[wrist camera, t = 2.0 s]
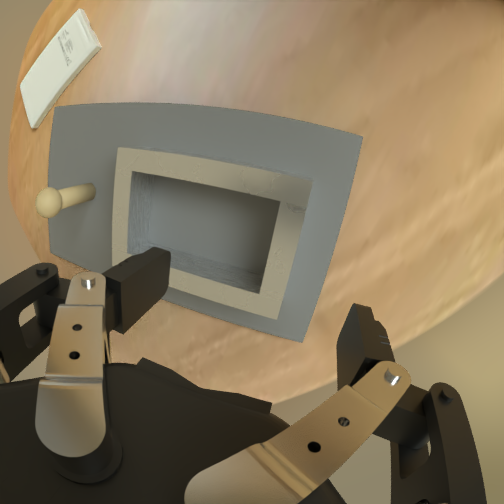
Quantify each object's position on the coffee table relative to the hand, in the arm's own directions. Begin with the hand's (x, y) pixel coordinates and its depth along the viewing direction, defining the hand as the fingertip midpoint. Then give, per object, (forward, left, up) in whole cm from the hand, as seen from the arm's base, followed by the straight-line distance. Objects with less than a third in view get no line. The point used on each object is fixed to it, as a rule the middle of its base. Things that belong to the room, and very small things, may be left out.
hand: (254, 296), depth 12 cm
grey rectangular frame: (+5, 0, -9) cm, 10 cm away
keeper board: (+10, 0, -10) cm, 14 cm away
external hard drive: (+27, -13, -11) cm, 32 cm away
